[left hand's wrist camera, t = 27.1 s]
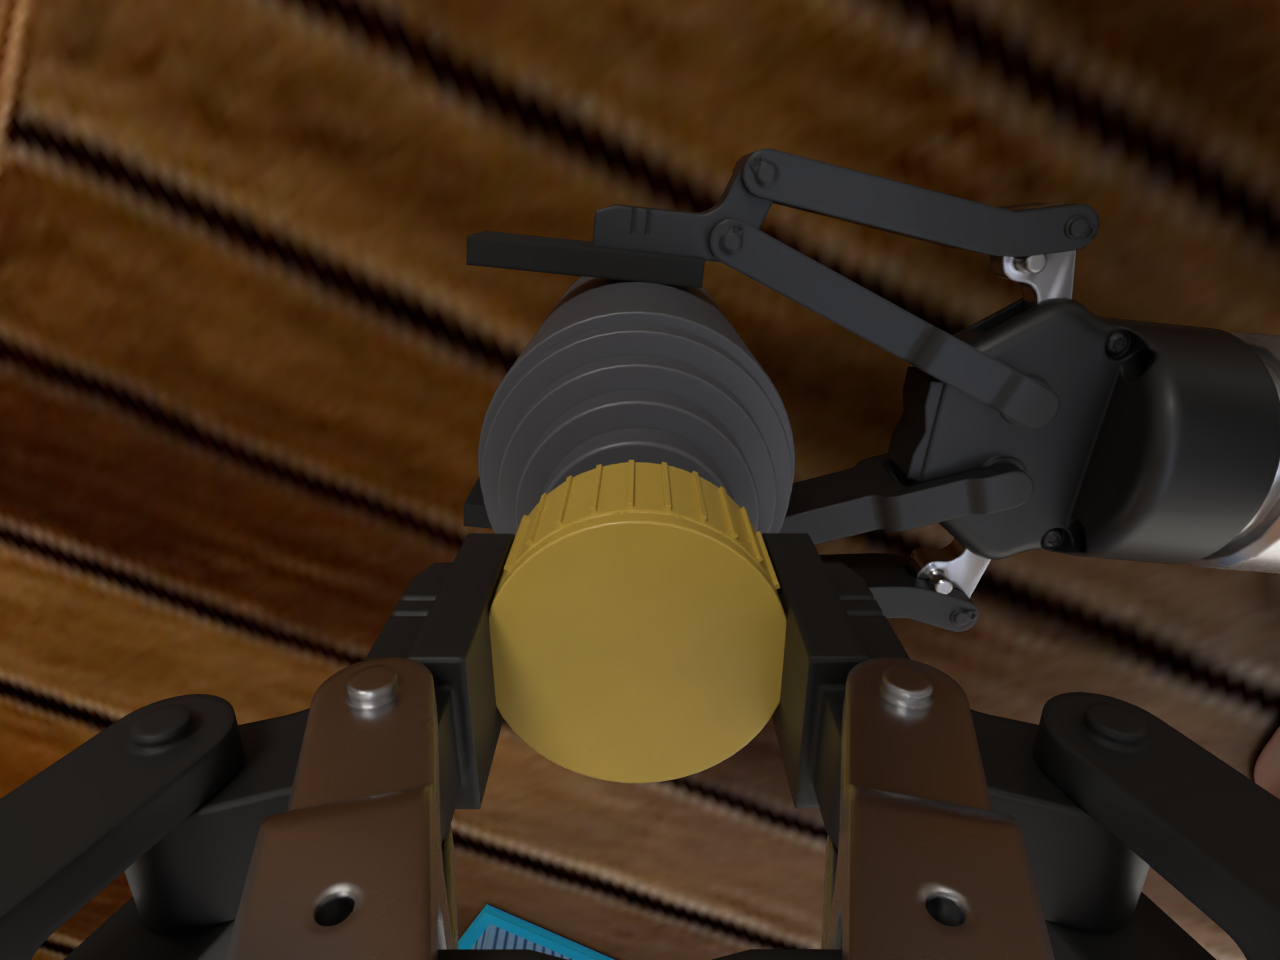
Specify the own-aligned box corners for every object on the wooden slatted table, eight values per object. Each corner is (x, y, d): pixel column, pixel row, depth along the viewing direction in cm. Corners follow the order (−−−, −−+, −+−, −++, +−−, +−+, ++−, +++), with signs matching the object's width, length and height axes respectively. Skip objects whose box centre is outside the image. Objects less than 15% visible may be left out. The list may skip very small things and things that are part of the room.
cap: (457, 610, 12) (419, 697, 10) (599, 402, 11) (589, 452, 9) (669, 728, 13) (674, 830, 11) (823, 549, 12) (861, 626, 10)
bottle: (515, 299, 28) (290, 500, 10) (691, 228, 28) (803, 301, 9) (587, 463, 31) (516, 867, 12) (751, 402, 30) (937, 741, 11)
